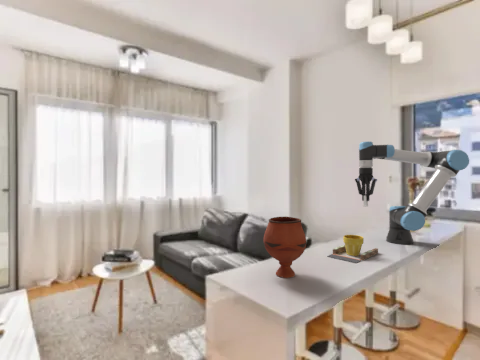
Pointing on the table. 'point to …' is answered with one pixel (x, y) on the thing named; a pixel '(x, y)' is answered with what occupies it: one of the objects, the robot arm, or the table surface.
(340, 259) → the mat
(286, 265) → the goblet
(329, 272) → the table surface
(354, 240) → the plant pot
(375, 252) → the pair of brown bars
